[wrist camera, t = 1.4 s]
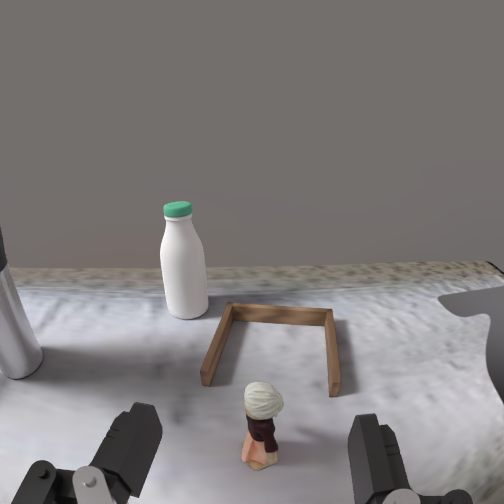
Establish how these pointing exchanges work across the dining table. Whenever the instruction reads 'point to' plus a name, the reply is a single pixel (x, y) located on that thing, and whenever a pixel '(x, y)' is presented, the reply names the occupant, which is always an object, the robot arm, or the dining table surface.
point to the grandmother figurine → (261, 425)
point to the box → (281, 317)
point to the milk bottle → (183, 264)
